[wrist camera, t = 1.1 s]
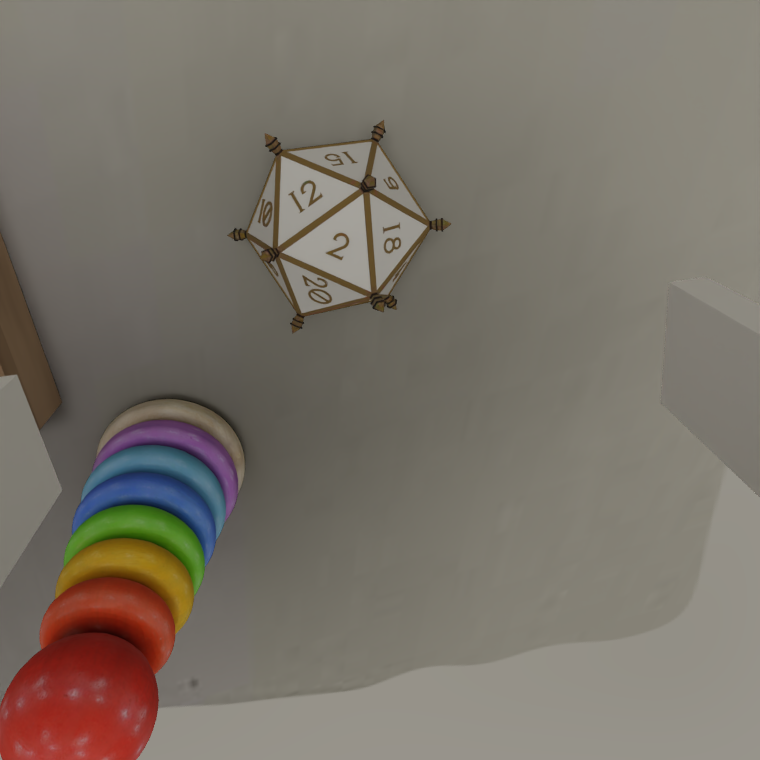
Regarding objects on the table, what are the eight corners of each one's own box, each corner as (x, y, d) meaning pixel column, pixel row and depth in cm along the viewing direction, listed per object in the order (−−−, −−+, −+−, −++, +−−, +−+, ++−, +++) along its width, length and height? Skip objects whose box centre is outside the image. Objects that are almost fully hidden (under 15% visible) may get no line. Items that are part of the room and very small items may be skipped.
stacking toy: (74, 423, 36) (-146, 731, 19) (207, 372, 35) (103, 643, 18) (146, 530, 39) (14, 875, 22) (269, 485, 39) (229, 803, 22)
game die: (365, 219, 36) (447, 356, 31) (212, 245, 33) (277, 401, 28) (394, 63, 29) (506, 208, 24) (203, 77, 26) (288, 247, 21)
